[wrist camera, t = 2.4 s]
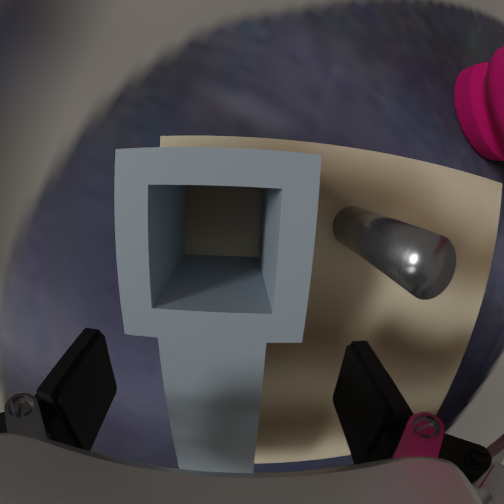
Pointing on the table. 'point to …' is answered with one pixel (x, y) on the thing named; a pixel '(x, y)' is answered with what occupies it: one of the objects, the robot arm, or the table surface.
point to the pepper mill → (482, 106)
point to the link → (214, 288)
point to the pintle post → (398, 250)
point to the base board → (355, 284)
